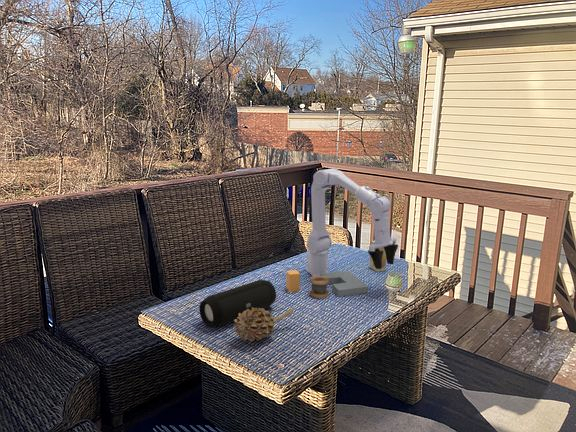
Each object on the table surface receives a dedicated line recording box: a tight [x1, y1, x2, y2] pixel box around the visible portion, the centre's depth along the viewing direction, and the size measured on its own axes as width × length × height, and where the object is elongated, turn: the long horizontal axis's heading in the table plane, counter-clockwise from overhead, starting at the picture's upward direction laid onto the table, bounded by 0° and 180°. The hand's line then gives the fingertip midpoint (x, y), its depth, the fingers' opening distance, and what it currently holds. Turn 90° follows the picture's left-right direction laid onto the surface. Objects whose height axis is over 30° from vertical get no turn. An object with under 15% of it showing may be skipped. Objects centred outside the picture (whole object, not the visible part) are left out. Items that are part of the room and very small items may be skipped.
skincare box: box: [369, 239, 387, 273], centre depth 195 cm, size 6×4×12 cm
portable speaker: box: [198, 279, 277, 328], centre depth 150 cm, size 26×10×10 cm, turn 133°
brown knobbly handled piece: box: [233, 307, 295, 342], centre depth 138 cm, size 22×10×10 cm, turn 134°
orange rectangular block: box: [285, 269, 301, 293], centre depth 173 cm, size 4×4×7 cm
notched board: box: [320, 270, 369, 297], centre depth 177 cm, size 18×12×2 cm, turn 18°
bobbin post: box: [309, 276, 330, 299], centre depth 169 cm, size 7×7×6 cm
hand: (384, 266), depth 169 cm, fingers open, 7 cm apart
